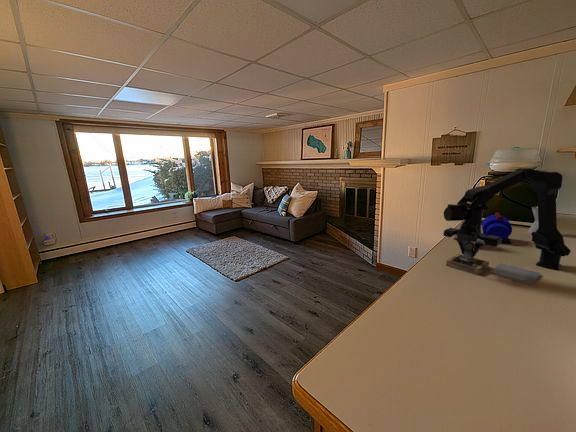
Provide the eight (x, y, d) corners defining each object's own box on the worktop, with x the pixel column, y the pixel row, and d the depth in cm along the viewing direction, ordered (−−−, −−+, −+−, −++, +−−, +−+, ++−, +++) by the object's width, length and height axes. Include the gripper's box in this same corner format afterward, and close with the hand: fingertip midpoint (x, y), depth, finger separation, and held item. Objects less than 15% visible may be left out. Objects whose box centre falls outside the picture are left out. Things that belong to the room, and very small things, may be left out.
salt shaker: (478, 269, 99) (482, 242, 96) (462, 269, 100) (465, 242, 97) (471, 263, 105) (474, 237, 102) (456, 263, 106) (459, 237, 103)
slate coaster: (500, 264, 102) (500, 263, 102) (540, 275, 92) (540, 273, 92) (490, 273, 96) (490, 271, 96) (531, 284, 86) (531, 282, 86)
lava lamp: (523, 230, 143) (533, 171, 135) (541, 231, 141) (552, 171, 133) (534, 235, 134) (547, 172, 126) (554, 235, 132) (567, 172, 124)
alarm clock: (507, 238, 132) (511, 212, 129) (512, 245, 122) (517, 217, 119) (479, 235, 139) (483, 210, 135) (482, 242, 129) (486, 215, 125)
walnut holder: (457, 258, 110) (458, 253, 109) (488, 267, 101) (489, 261, 100) (446, 265, 104) (446, 260, 103) (477, 275, 95) (478, 269, 94)
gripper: (438, 219, 101) (435, 253, 105) (494, 228, 86) (488, 268, 89) (451, 215, 107) (447, 247, 110) (504, 222, 92) (498, 260, 95)
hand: (468, 255), depth 101 cm, fingers closed on salt shaker, 3 cm apart
